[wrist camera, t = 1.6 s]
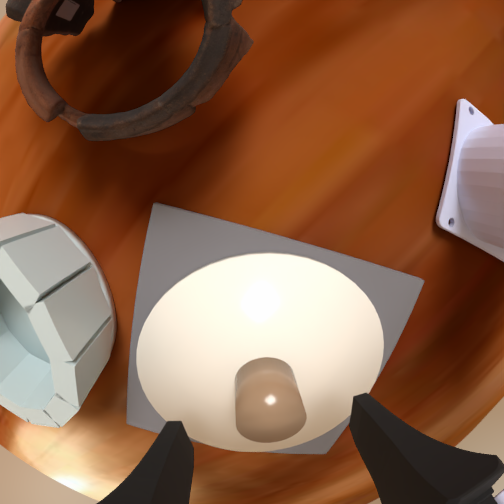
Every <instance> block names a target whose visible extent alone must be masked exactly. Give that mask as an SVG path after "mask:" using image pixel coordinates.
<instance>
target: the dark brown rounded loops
mask: <svg viewBox="0 0 504 504" xmlns="http://www.w3.org/2000/svg"><path fill="white" fill-rule="evenodd" d="M113 1H114V2H116V3H120V2H121V1H122V0H113ZM201 1H202V4H203V9H204V15H205V20H206V23H205V27H204V35H203V38H202V42H201V45H200V47H199V50H198V52H197V54H196V57H195V58H194V60H193V62H192V64H191V65H190V67H189V68H188V70H187V71H186V72H185V73H184V75H183V76H182V77H181V78H180V79H179V80H178V81H177V82H176V83H175V84H174V85H173V86H172V87H171V88H170V89H168V90H167V91H166V92H164V93H163V94H162V95H161V96H160V97H158V98H156V99H154V100H153V101H151V102H149V103H148V104H145V105H143V106H141V107H139V108H136V109H134V110H130V111H127V112H120V113H114V114H86V113H84V112H81V111H79V110H76V109H74V108H73V107H71V106H69V105H68V104H67V103H66V102H65V101H64V100H63V99H62V98H61V97H60V96H59V95H58V94H57V93H56V92H55V90H54V89H53V88H52V86H51V85H50V83H49V81H48V79H47V77H46V74H45V72H44V68H43V64H42V57H41V43H42V37H43V36H51V35H53V34H61V35H68V34H70V35H73V36H77V35H79V34H80V33H81V32H82V30H83V28H84V26H85V25H86V23H87V22H88V20H89V19H90V18H91V17H92V16H93V14H94V0H8V1H7V4H6V13H7V16H8V17H9V18H11V19H13V20H15V21H20V22H21V24H20V26H19V33H18V36H17V41H16V49H15V52H16V55H15V60H16V73H17V79H18V82H19V84H20V87H21V89H22V93H23V95H24V96H25V98H26V101H27V103H28V104H29V106H30V107H31V108H32V109H33V110H34V111H35V113H36V114H37V115H38V116H39V117H40V118H42V119H43V120H44V121H46V122H49V121H51V120H53V119H55V118H56V117H57V116H59V117H60V118H61V119H63V120H66V121H67V122H68V123H69V124H71V125H72V126H74V127H76V128H78V129H79V131H80V132H81V134H82V135H83V136H84V138H85V139H87V140H90V141H108V140H115V139H125V138H132V137H137V136H142V135H147V134H150V133H154V132H157V131H160V130H163V129H165V128H168V127H170V126H172V125H174V124H176V123H178V122H180V121H182V120H183V119H185V118H187V117H189V116H191V115H192V114H193V113H194V112H195V110H196V105H198V104H201V103H205V102H207V101H209V100H210V99H211V98H212V97H213V96H214V95H215V93H216V92H217V91H218V90H219V89H220V87H221V86H222V85H223V83H224V82H225V80H226V79H227V78H228V76H229V74H230V72H231V71H232V70H233V69H234V67H235V66H236V65H237V64H238V62H239V61H240V60H241V59H242V57H243V56H244V55H245V54H246V53H247V52H248V51H249V49H250V47H251V46H252V44H253V40H252V39H250V37H249V35H248V34H247V32H246V31H245V30H244V29H243V28H242V27H241V26H240V25H239V24H238V23H237V22H236V21H235V20H234V18H233V17H232V14H231V13H232V10H233V9H235V8H236V7H238V6H240V5H241V2H242V0H201Z"/></svg>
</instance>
